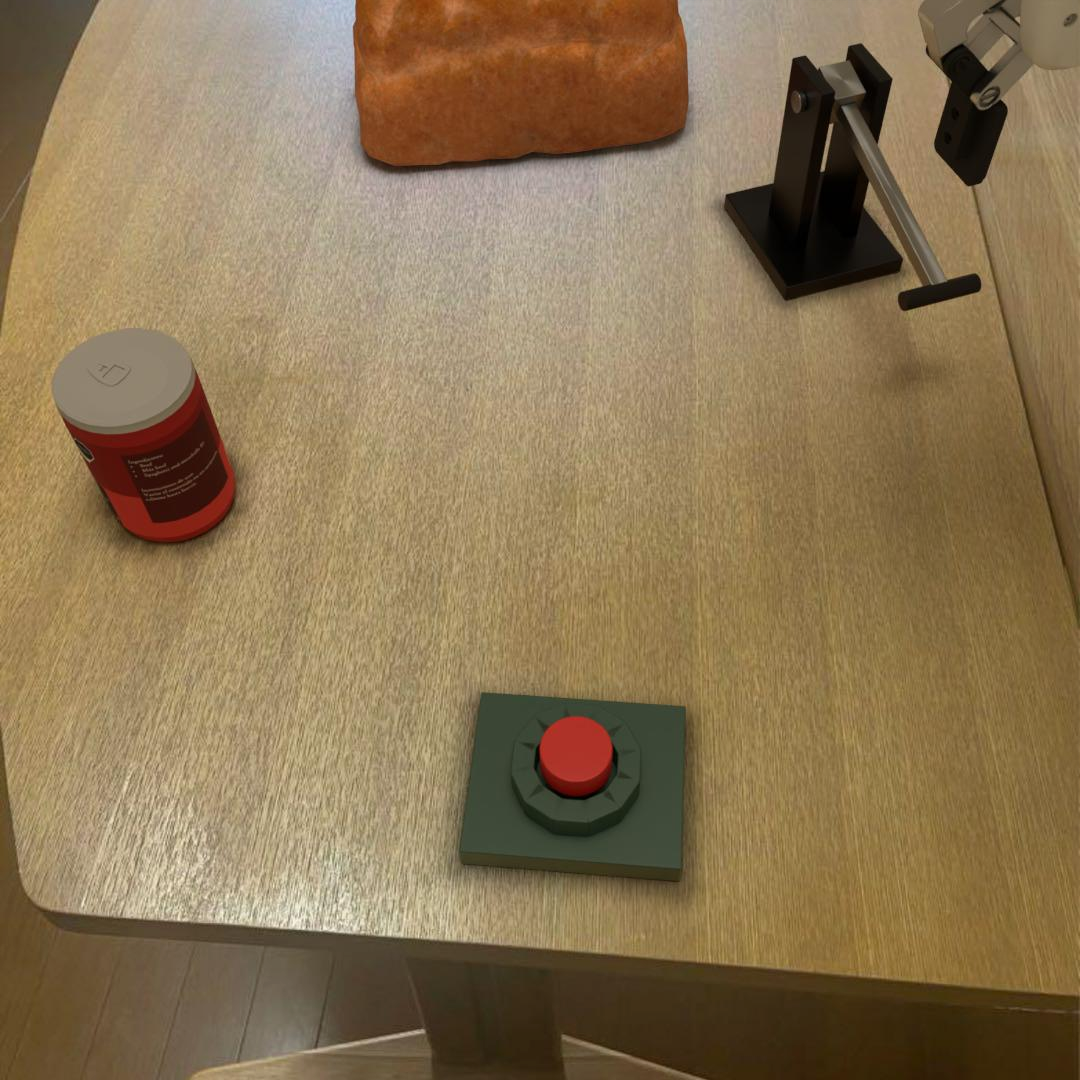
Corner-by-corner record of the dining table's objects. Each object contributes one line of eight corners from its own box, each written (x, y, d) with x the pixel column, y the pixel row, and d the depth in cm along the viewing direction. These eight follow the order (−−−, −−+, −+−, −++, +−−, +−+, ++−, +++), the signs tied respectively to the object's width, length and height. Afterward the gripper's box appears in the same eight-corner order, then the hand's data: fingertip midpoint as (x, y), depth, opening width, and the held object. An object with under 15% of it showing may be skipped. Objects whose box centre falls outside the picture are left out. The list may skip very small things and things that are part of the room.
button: (614, 734, 61) (614, 718, 59) (609, 799, 59) (610, 784, 57) (543, 729, 61) (542, 713, 60) (537, 794, 59) (536, 779, 58)
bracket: (900, 271, 85) (947, 100, 74) (785, 300, 84) (815, 130, 73) (831, 181, 92) (866, 10, 80) (723, 206, 90) (743, 37, 79)
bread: (359, 80, 101) (327, -106, 89) (666, 52, 103) (677, -136, 90) (363, 182, 93) (329, -8, 81) (696, 150, 94) (713, -42, 82)
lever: (972, 301, 74) (988, 279, 72) (899, 320, 73) (913, 298, 71) (858, 82, 80) (869, 55, 78) (789, 97, 79) (799, 71, 77)
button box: (683, 720, 65) (688, 689, 62) (679, 881, 59) (684, 855, 57) (483, 706, 66) (478, 675, 63) (461, 864, 60) (455, 837, 57)
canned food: (141, 443, 78) (84, 318, 69) (256, 460, 77) (213, 335, 68) (92, 536, 73) (24, 415, 64) (213, 555, 72) (161, 435, 63)
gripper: (1063, -196, 36) (926, 241, 50) (1508, -291, 40) (1263, 144, 54) (933, -290, 40) (840, 138, 54) (1347, -369, 44) (1158, 54, 58)
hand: (1050, 141), depth 54 cm, fingers open, 9 cm apart
